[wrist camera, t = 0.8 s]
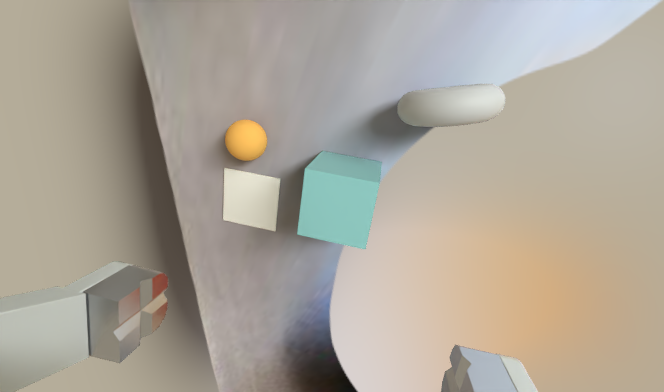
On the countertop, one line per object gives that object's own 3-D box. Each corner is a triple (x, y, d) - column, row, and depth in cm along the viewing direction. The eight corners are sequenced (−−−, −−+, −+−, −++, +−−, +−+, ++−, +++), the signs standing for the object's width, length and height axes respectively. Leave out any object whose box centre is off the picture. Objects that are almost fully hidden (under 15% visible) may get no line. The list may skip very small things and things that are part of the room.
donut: (488, 80, 35) (524, 81, 25) (487, 113, 36) (521, 124, 26) (395, 90, 37) (397, 94, 27) (396, 120, 38) (398, 134, 28)
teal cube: (322, 150, 40) (305, 168, 32) (381, 161, 40) (379, 183, 31) (314, 205, 43) (297, 234, 35) (370, 216, 42) (365, 249, 34)
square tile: (225, 167, 44) (224, 168, 43) (280, 178, 43) (280, 179, 43) (223, 219, 47) (223, 219, 46) (275, 230, 46) (275, 231, 45)
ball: (237, 114, 41) (217, 118, 36) (274, 121, 40) (259, 126, 36) (235, 152, 43) (217, 160, 38) (271, 159, 42) (256, 168, 37)
